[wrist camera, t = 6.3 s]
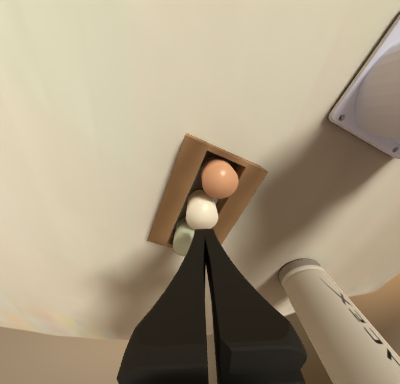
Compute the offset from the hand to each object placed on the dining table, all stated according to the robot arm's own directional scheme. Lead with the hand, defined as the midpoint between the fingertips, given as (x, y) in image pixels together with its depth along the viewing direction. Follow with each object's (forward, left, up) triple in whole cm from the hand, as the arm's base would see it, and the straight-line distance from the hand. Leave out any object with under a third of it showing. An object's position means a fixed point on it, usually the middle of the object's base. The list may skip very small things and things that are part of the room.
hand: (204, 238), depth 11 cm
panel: (0, 0, -6) cm, 6 cm away
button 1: (0, +4, -5) cm, 6 cm away
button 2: (0, -4, -5) cm, 6 cm away
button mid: (0, 0, -5) cm, 5 cm away
